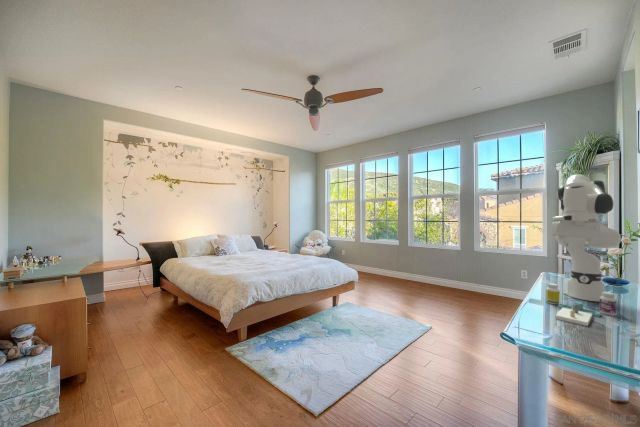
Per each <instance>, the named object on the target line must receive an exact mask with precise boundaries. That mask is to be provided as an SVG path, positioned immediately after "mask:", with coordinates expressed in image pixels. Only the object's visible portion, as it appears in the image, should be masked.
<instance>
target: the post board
mask: <svg viewBox="0 0 640 427" xmlns="http://www.w3.org/2000/svg"><path fill="white" fill-rule="evenodd" d="M572 306H573V310H572V309H567V308H562V309H559V311H557V313H556V314H555V319H556V320H559V321H564V322H568V323H572V324H576V325H579V326H585V327H588V326H589V324H590V322H591V321H592V318H593V316H592V314H591V313H586V312H582V311H578V305H577V304H574V303H572Z"/></svg>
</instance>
